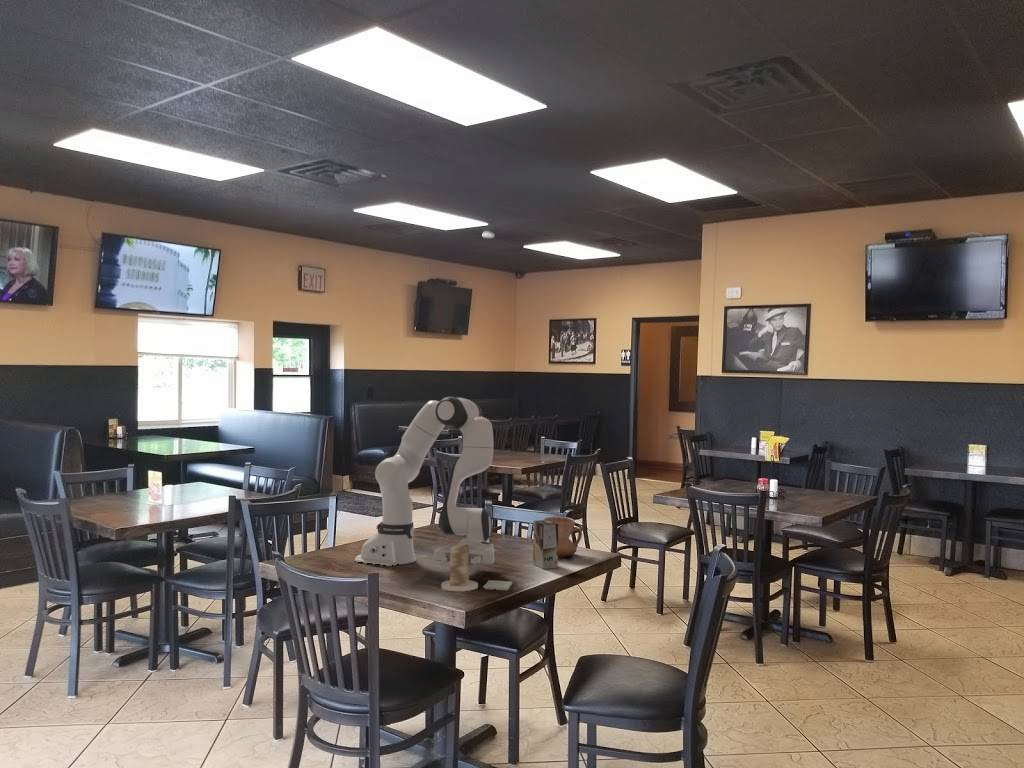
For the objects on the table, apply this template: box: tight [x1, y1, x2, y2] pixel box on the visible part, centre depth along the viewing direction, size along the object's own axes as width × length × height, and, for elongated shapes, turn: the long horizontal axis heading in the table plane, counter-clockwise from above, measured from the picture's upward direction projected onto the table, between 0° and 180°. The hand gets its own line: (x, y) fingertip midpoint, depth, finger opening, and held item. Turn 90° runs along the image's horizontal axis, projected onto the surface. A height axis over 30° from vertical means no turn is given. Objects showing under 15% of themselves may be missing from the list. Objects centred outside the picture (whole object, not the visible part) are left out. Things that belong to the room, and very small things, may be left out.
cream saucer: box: [440, 579, 479, 592], centre depth 248 cm, size 12×12×1 cm
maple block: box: [449, 545, 470, 587], centre depth 248 cm, size 5×5×12 cm
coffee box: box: [532, 519, 559, 570], centre depth 279 cm, size 9×6×16 cm
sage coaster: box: [483, 579, 513, 591], centre depth 250 cm, size 8×8×1 cm
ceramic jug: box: [542, 516, 583, 558], centre depth 296 cm, size 18×14×14 cm
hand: (458, 560), depth 247 cm, fingers open, 8 cm apart
